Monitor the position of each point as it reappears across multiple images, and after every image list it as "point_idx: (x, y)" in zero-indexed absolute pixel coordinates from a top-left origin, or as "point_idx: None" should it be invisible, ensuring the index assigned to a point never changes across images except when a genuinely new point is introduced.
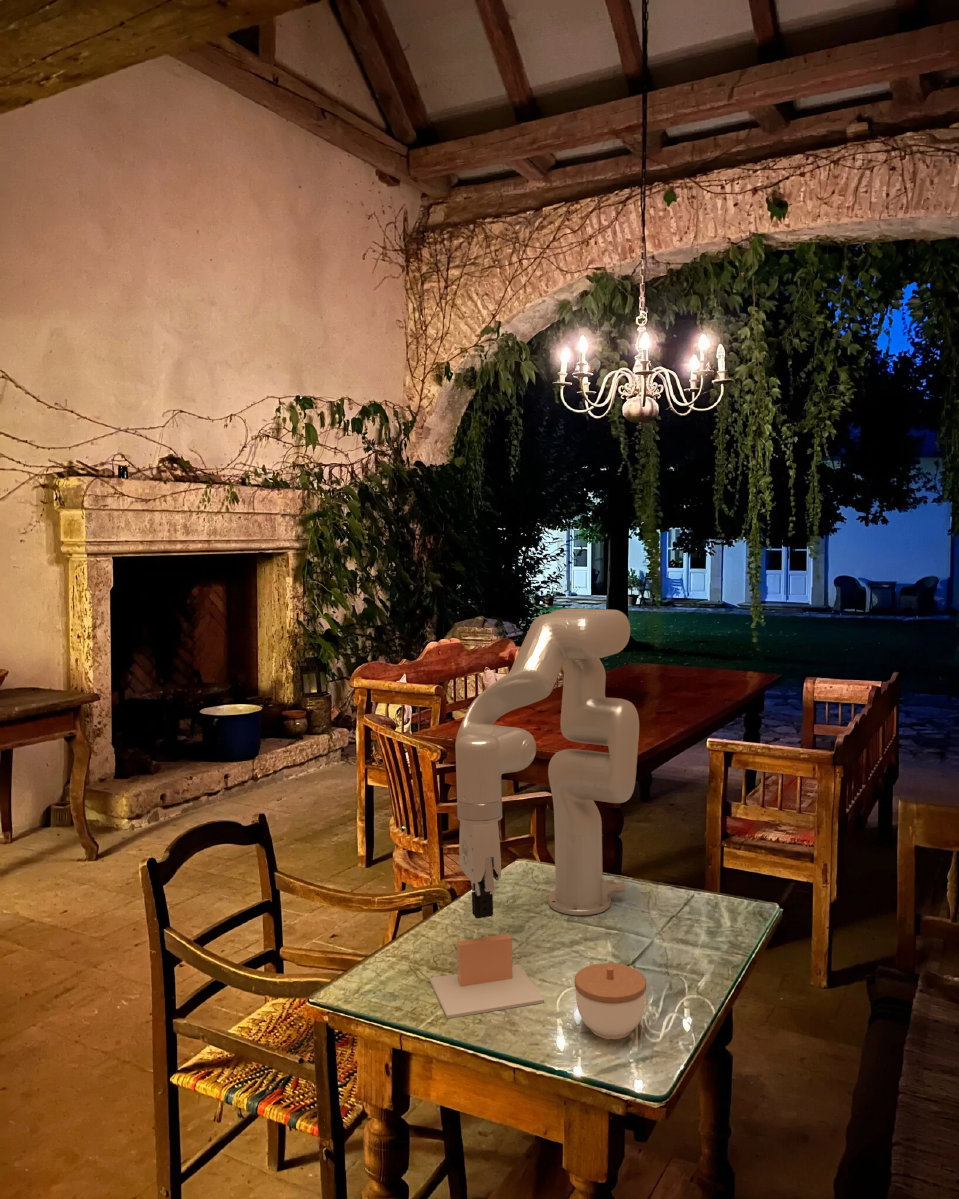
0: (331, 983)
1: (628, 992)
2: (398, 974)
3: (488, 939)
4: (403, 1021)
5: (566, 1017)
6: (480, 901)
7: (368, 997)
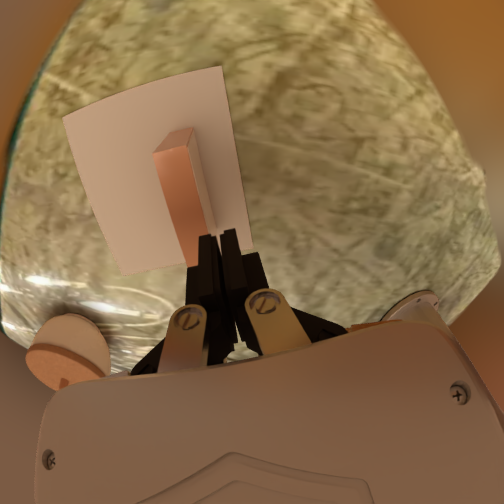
0: None
1: (43, 382)
2: (265, 8)
3: (189, 236)
4: (66, 41)
5: (90, 293)
6: (187, 300)
7: None
